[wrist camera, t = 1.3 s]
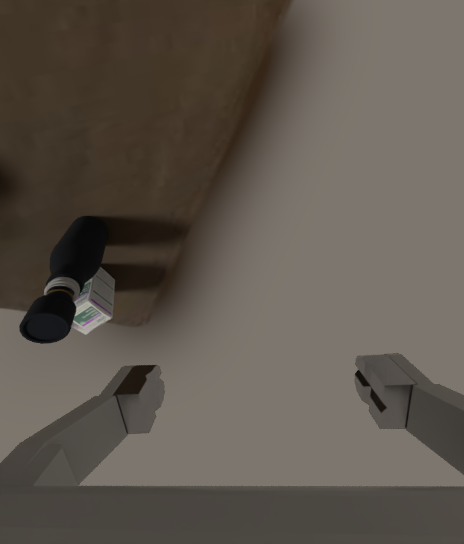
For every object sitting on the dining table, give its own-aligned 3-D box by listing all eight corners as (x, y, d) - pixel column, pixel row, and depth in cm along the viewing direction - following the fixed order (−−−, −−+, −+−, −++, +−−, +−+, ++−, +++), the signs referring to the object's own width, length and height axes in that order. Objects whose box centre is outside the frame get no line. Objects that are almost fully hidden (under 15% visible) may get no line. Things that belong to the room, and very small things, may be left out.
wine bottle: (112, 223, 46) (93, 308, 22) (103, 249, 47) (76, 355, 23) (76, 210, 42) (5, 295, 18) (67, 239, 44) (-6, 351, 20)
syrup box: (97, 262, 48) (86, 299, 36) (116, 280, 52) (112, 318, 40) (74, 276, 48) (57, 318, 36) (95, 293, 51) (85, 336, 40)
